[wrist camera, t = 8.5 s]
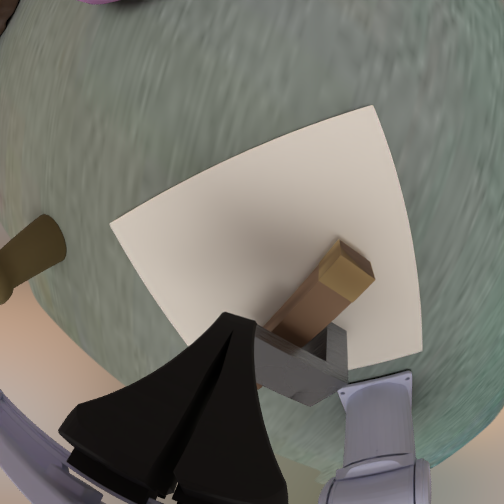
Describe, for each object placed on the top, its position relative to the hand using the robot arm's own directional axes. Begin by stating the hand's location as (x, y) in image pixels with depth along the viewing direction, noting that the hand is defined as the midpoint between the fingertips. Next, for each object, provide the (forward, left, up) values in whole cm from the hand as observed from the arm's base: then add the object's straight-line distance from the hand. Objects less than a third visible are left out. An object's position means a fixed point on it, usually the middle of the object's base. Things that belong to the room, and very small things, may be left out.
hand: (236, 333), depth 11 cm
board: (-4, +2, -9) cm, 10 cm away
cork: (+9, +24, -10) cm, 27 cm away
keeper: (-9, +3, -8) cm, 13 cm away
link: (-6, +1, -7) cm, 10 cm away
